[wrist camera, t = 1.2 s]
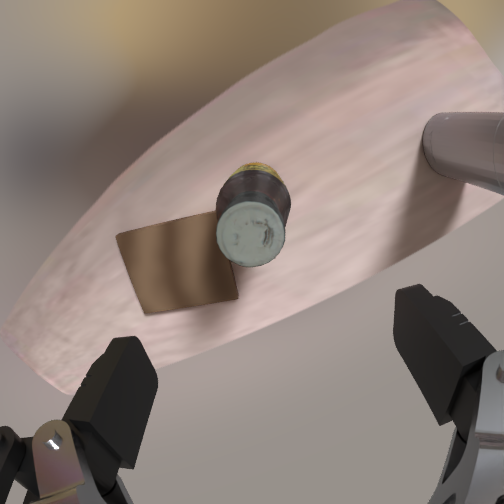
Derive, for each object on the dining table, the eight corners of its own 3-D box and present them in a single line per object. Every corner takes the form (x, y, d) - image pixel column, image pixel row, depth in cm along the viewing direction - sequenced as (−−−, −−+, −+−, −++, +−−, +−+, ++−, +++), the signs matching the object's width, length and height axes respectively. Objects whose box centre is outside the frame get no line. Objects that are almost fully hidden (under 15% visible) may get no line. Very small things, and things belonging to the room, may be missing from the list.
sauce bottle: (291, 181, 35) (336, 230, 17) (260, 221, 37) (270, 307, 19) (247, 149, 34) (243, 160, 15) (216, 191, 36) (181, 250, 17)
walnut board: (217, 210, 37) (216, 212, 35) (238, 294, 41) (238, 298, 40) (118, 233, 37) (115, 236, 36) (146, 309, 42) (144, 313, 41)
